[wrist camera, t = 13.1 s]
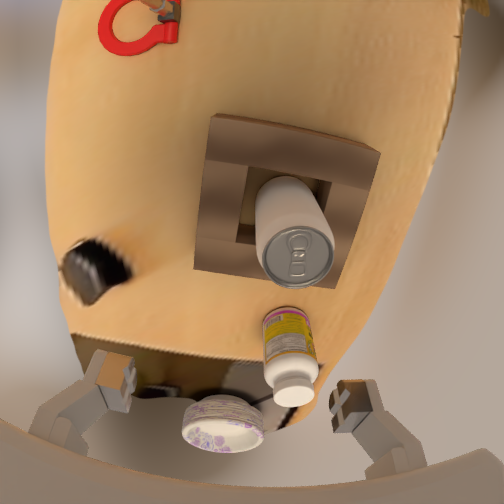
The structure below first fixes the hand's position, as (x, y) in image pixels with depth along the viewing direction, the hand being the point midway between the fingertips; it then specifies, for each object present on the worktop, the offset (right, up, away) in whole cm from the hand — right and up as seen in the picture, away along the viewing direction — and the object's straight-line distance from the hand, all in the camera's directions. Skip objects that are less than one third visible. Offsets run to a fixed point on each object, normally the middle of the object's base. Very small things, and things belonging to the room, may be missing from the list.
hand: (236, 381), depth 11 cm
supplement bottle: (+5, -5, +32) cm, 33 cm away
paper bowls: (-5, -25, +44) cm, 51 cm away
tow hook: (-11, +29, +12) cm, 33 cm away
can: (+4, +11, +23) cm, 25 cm away
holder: (+3, +11, +22) cm, 25 cm away
